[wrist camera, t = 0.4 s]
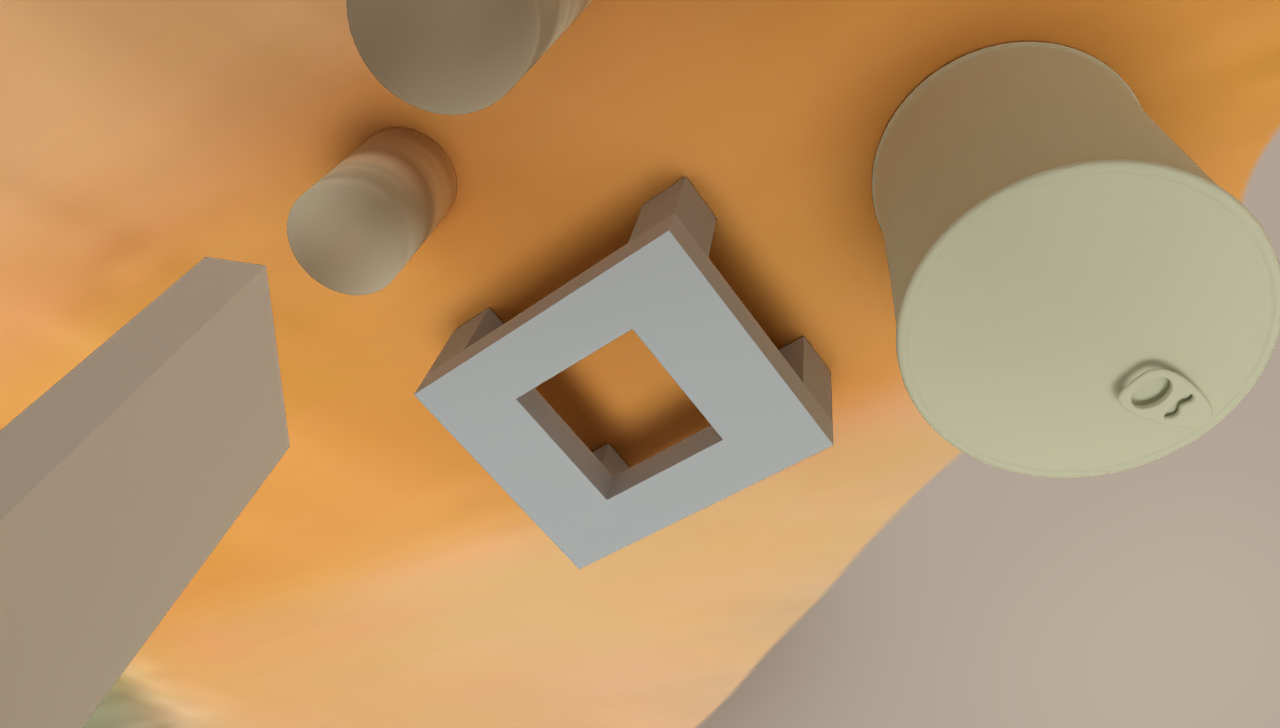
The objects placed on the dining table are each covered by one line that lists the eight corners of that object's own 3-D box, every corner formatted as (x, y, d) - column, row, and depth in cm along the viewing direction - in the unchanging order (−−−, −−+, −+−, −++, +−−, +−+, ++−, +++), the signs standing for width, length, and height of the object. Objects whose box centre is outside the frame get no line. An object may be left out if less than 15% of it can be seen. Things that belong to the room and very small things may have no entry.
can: (1014, 335, 38) (1088, 545, 28) (819, 204, 36) (822, 375, 26) (1211, 142, 33) (1389, 310, 23) (997, -18, 31) (1085, 86, 21)
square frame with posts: (454, 330, 41) (413, 394, 37) (685, 176, 36) (668, 230, 32) (601, 493, 45) (579, 569, 40) (830, 372, 40) (833, 444, 35)
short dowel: (336, 165, 38) (263, 226, 33) (407, 107, 37) (342, 161, 31) (406, 244, 40) (346, 314, 34) (478, 191, 38) (426, 257, 33)
